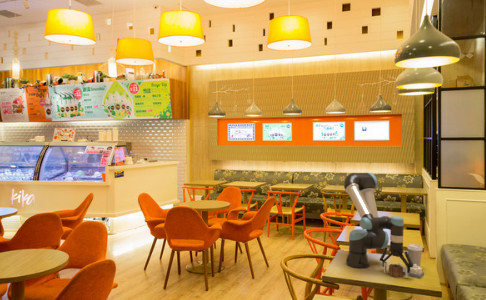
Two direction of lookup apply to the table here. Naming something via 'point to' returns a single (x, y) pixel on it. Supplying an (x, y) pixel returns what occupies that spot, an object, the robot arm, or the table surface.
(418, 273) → the gear board
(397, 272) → the walnut gear
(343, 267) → the table surface
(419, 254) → the coffee cup
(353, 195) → the robot arm
